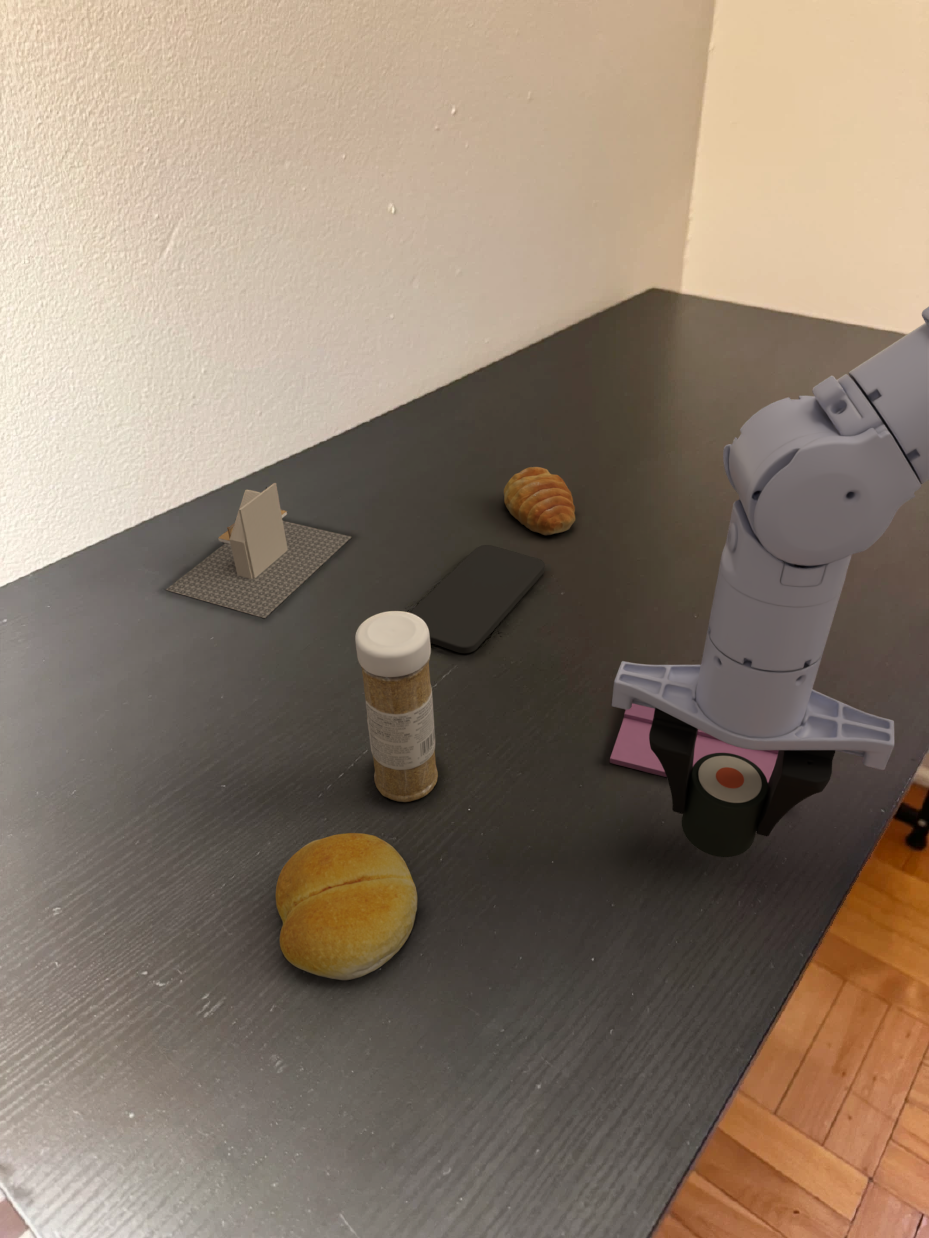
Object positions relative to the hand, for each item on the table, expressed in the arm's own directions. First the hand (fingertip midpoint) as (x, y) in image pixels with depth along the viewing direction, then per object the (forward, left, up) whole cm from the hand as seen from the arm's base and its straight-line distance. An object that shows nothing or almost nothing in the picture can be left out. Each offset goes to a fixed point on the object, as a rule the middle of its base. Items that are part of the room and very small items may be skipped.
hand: (722, 811), depth 51 cm
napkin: (+2, -10, -4) cm, 11 cm away
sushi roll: (0, 0, -2) cm, 2 cm away
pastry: (+23, -38, -4) cm, 45 cm away
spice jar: (+21, +1, -4) cm, 21 cm away
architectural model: (+46, -20, -4) cm, 50 cm away
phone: (+24, -21, -4) cm, 32 cm away
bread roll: (+20, +12, -4) cm, 24 cm away
